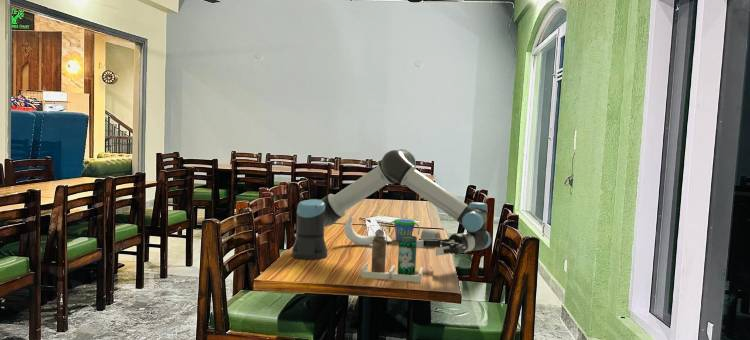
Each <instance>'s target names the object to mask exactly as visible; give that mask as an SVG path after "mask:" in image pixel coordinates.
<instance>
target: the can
mask: <svg viewBox="0 0 750 340" xmlns="http://www.w3.org/2000/svg"><path fill="white" fill-rule="evenodd" d="M417 238H418V237H417V236H415V235H412V236H410V235H402V236H399V241H398V255H397V260H398V261H397V273H398V274H404V275H416V260H417V248H416V244H417V241H418V240H417Z"/></svg>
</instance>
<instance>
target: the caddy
mask: <svg viewBox="0 0 750 340" xmlns="http://www.w3.org/2000/svg"><path fill="white" fill-rule="evenodd" d="M368 267H369V262H365V263H363V265H362V267H361V268H360V271H359V272H360V273H359V274H360V275H359V278H364V279H374V280H375V279H379V280H390V281H401V282H413V283H421V282H422V279H423V277H424V267H423V266H420V268H419V271H418V274H415V275H404V274H398V272H396V264H392V265H391V267H390V269H389V271H387V272H386V271H385V273H379V272H371V270H368V269H369V268H368Z"/></svg>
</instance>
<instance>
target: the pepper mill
mask: <svg viewBox="0 0 750 340" xmlns="http://www.w3.org/2000/svg"><path fill="white" fill-rule="evenodd" d="M374 233H375V234H374V235H376V236H374V239H373V242H372V244H371V245H372V247H371V268H370V269H371V270H370V271H371V272H379V273H385V272H386V254H387V252H386V251H387V240H386V237H385V232H384V231H383V229H377V230H376V231H375V232H374ZM383 236H384V237H383Z"/></svg>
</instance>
